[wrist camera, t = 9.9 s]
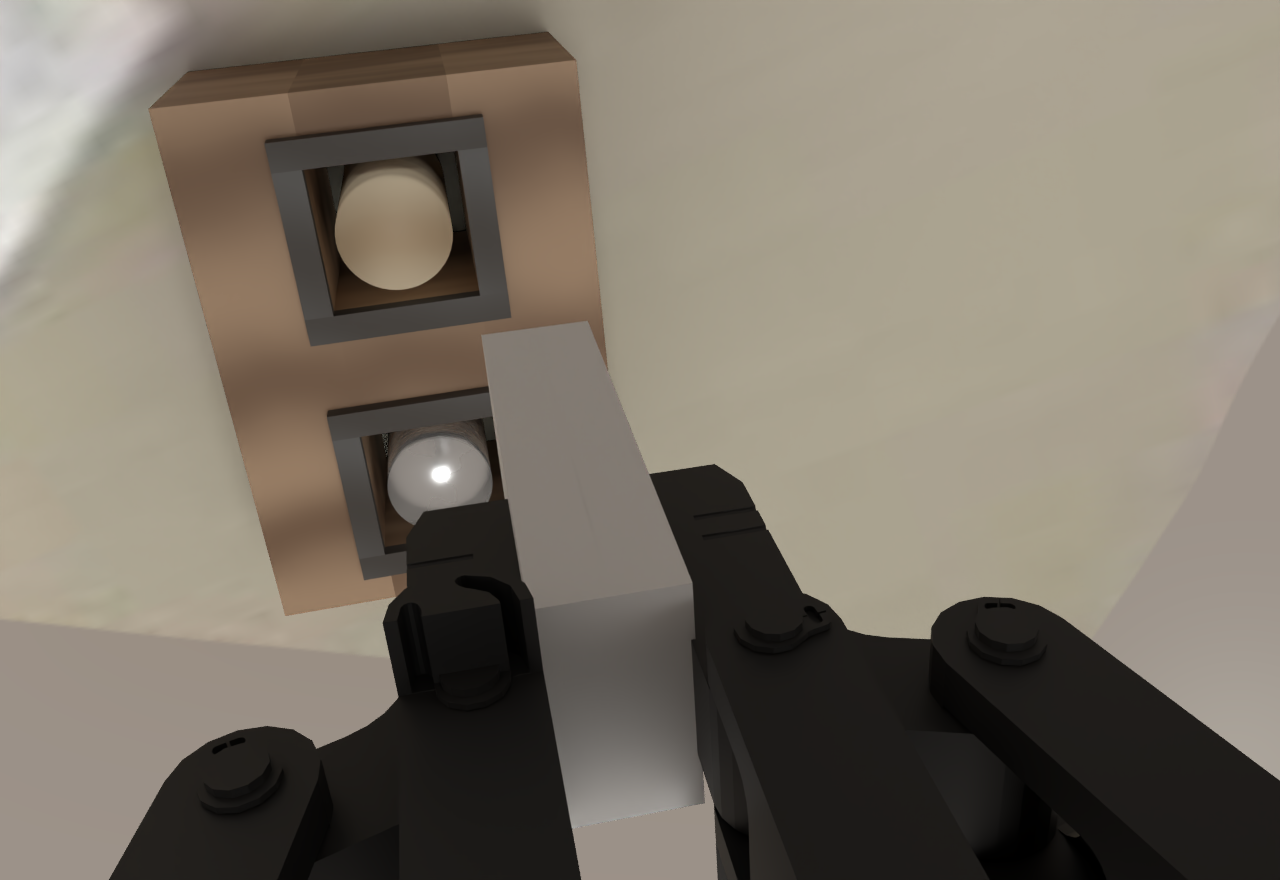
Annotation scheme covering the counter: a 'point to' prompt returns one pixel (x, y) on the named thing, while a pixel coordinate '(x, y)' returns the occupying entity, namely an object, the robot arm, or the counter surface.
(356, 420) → the walnut block
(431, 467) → the metal peg
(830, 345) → the counter surface
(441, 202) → the birch dowel
